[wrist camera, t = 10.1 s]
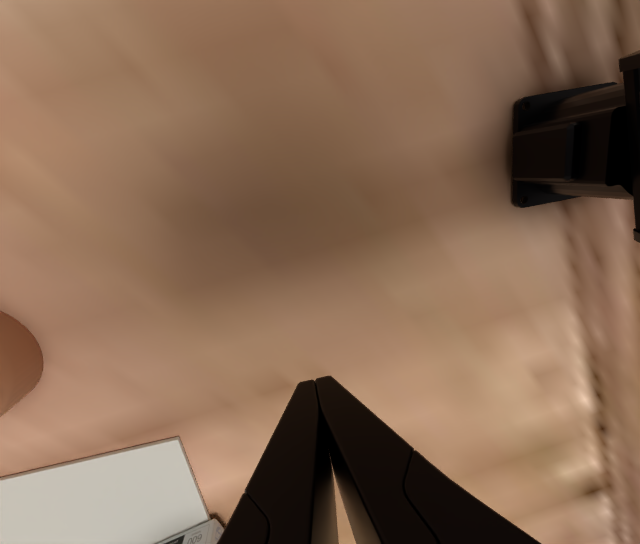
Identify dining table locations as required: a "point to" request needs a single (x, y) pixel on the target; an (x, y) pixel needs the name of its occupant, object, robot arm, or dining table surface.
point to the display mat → (104, 499)
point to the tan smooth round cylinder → (17, 362)
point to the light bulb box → (198, 534)
